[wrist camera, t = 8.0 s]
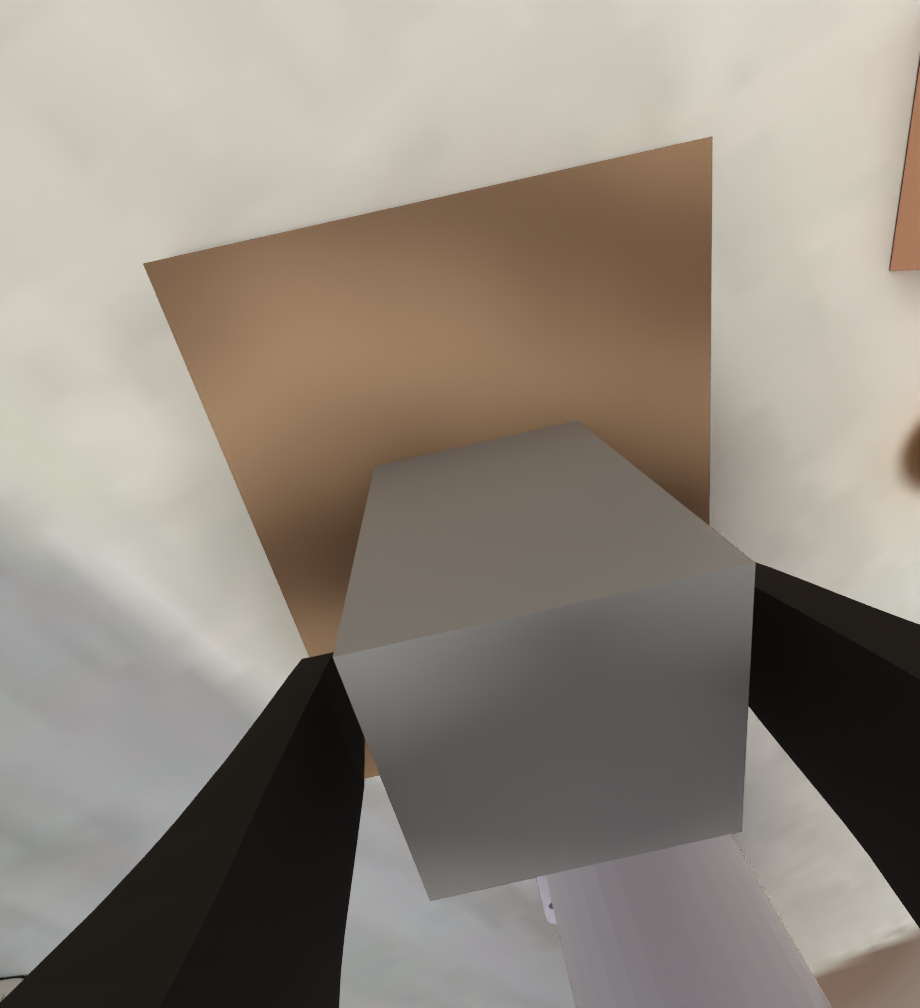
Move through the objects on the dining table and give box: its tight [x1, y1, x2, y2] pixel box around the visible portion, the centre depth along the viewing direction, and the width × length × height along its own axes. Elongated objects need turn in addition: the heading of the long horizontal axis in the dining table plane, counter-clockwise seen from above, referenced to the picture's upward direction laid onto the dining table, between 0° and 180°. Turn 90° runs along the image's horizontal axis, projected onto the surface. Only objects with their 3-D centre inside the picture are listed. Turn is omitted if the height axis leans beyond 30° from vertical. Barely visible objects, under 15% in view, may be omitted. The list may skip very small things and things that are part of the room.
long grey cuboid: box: [333, 421, 756, 901], centre depth 10 cm, size 5×5×7 cm
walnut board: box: [143, 137, 712, 778], centre depth 14 cm, size 16×12×1 cm
